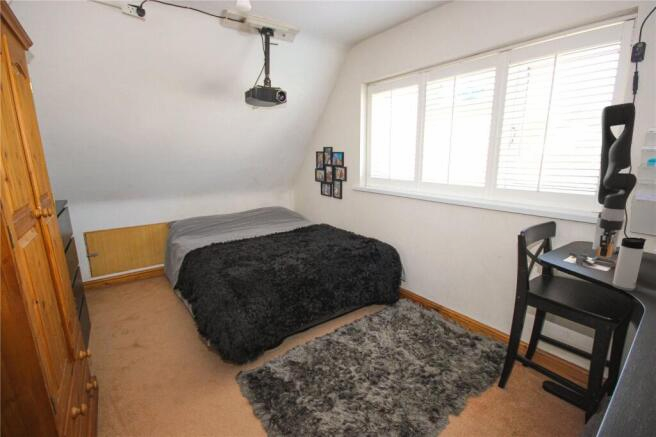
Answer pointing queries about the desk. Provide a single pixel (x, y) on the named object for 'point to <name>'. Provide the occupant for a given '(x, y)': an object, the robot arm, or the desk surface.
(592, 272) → the desk surface
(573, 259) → the breaker panel
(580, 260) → the switch mount
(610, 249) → the block
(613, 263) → the lockout socket
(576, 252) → the breaker rocker
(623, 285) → the travel mug
